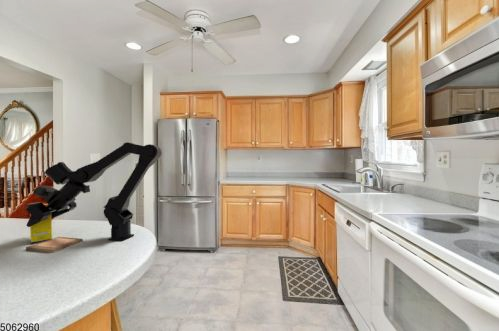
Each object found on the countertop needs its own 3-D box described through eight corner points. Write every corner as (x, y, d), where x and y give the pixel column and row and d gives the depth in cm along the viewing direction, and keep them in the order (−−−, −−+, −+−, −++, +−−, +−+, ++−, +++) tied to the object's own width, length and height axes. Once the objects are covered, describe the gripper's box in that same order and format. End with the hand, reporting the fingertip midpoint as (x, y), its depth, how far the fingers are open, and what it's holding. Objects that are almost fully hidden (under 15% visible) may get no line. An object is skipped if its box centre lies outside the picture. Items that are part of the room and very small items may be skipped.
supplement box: (30, 240, 89) (30, 211, 88) (51, 236, 93) (51, 209, 92) (30, 244, 84) (29, 214, 84) (52, 240, 88) (51, 211, 88)
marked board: (59, 239, 90) (58, 236, 90) (82, 241, 87) (82, 238, 87) (26, 250, 79) (25, 246, 79) (52, 252, 77) (52, 249, 77)
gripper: (68, 176, 98) (39, 203, 97) (30, 180, 79) (-5, 213, 78) (88, 195, 99) (60, 222, 98) (56, 203, 80) (21, 236, 79)
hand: (37, 223), depth 88 cm, fingers closed on supplement box, 8 cm apart
